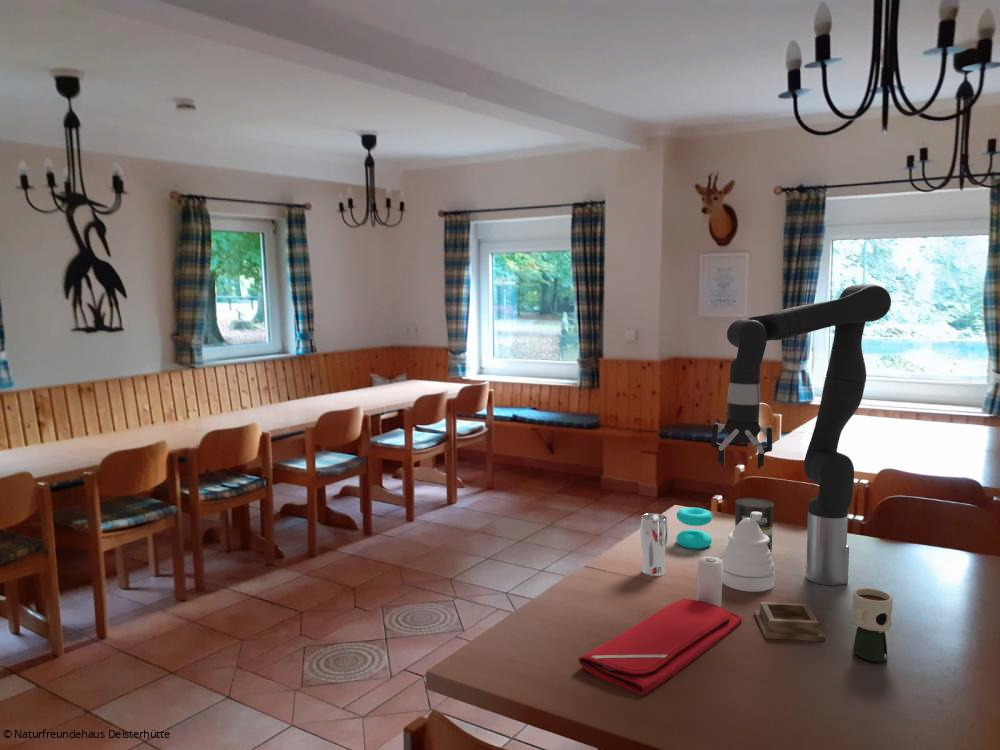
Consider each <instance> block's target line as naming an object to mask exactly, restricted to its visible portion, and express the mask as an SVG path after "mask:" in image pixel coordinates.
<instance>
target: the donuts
mask: <svg viewBox="0 0 1000 750" xmlns="http://www.w3.org/2000/svg"><path fill="white" fill-rule="evenodd" d="M712 518H713V516H712V513H711V512H710V511H709V510H707V509H705V508H701V507H692V506H691V507H690V506H689V507H683V508H680V509H678V511H677V512H676V519H677V520H678V521H679V522H680V523H681V524H684V525H686V526H690V527H691V526H693V527H700V526H701V527H702V526H705V525H708V524H709V523H711V522H712ZM675 540H676V542H677V544H678V545H679V546H681V547H684V548H687V549H691V550H692V549H693V550H694V549H695V550H696V549H698V550H701V549H705V548H708V547H710V546H711V545H712V537H711V536H710V534H708V533H707V532H705V531H703V530H699V529H685V530H682V531H680V532H678V533H677V534H676V537H675Z"/></svg>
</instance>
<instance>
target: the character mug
mask: <svg viewBox="0 0 1000 750" xmlns="http://www.w3.org/2000/svg"><path fill="white" fill-rule="evenodd" d="M893 602H894V601H893V597H892V595H891V594H890V593H888V592H886V591H884V590H881V589H877V588H871V587H859V588H855V589H854V590H853V591H852V603H851V604H852V606H851V607H852V611H851V619H852V623H853V624H854V625H855V626H857V628H856V632H855V637H854V643H853V649H852V652H853V653H854V654H855V655H857V656H859V657H860V658H863V659H865V660H867V661H870V662H871V661H872V662H884V661H885V655H886V659H888V645H887V635H886V632H887V631H889V630H890V629H891V627H892V624H893V621H892V618H891V617H892V612H893Z"/></svg>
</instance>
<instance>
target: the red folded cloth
mask: <svg viewBox="0 0 1000 750" xmlns="http://www.w3.org/2000/svg"><path fill="white" fill-rule="evenodd" d="M742 621H743V618H741V616H739V615H737V614H735V613H732V612H729V611H728V610H727V609H725V608H724V607H722V606H721V607H719V606H716V605H713V604H709V603H706V602H702V601H697V599H696V600H695V599H687V598H683V599H682V598H681V599H680V600H677V601H674V602H672V603H670V604H668V605H666V606H665V607H663V608H661V609H660V610H658V611H657V612H655V613H653V614H652V615H650V616H649V617H647V618H645V619H643V620H642V621H640V622H639V623H637V624H635V625H634V626H632V627H630V628H628V629H627V630H626V631H624V632H622V633H620V634H619V635H617V636H615V637H613V638H611V639H609V640H608V641H606V642H605V643H603V644H601V645H599V646H598V647H596V648H593V649H592V650H590V651H589V652H587V653H585V654H583V655H582V656H579V658H578V662H579V664H580V666H582V667H583V669H584V670H585V671H586V672H588V673H590V674H591V675H593V676H594V677H596V678H598V679H600V680H603V681H606V682H608V683H610V684H613V685H616V686H618V687H621V688H624V689H626V690H628V691H630V692H633V693H636V694H638V695H639V696H642V697H643V696H645V695H647V694H648V693H650V692H651V691H652V690H654V689H656V688H657V687H659V686H660V685H661V684H663V683H665V682H666V681H668V680H669V679H670V678H672V677H673V676H675V675H676V674H677V673H679V672H680V671H682V670H683V669H684V668H685V667H688V665H689V664H690V663H691V662H693V661H694V660H696V659H697V658H698V657H699V656H701V655H702V654H704V653H705V652H707V651H708V650H710V649H711V648H712V647H713V646H714V645H716V644H717V643H718V642H719V641H720V640H722V639H723V638H725V637H726V636H727V635H729V633H731V632H733V630H734V629H736V628H737V626H739V625H740V624H741V623H742Z"/></svg>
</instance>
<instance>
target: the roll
mask: <svg viewBox="0 0 1000 750" xmlns="http://www.w3.org/2000/svg"><path fill="white" fill-rule="evenodd" d="M721 559H722V558H719V557H716V556H710V555H708V556H706V555H704V556H700V557H698V559H697V561H698V562H697V579H696V580H697V582H696V583H697V585H696V601H702V602H706V603H709V604H713V605H716V606H719V607H722V604H723V603H722V602H723V601H722V600H723V599H722V597H723V583H722V580H723V560H721Z"/></svg>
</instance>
